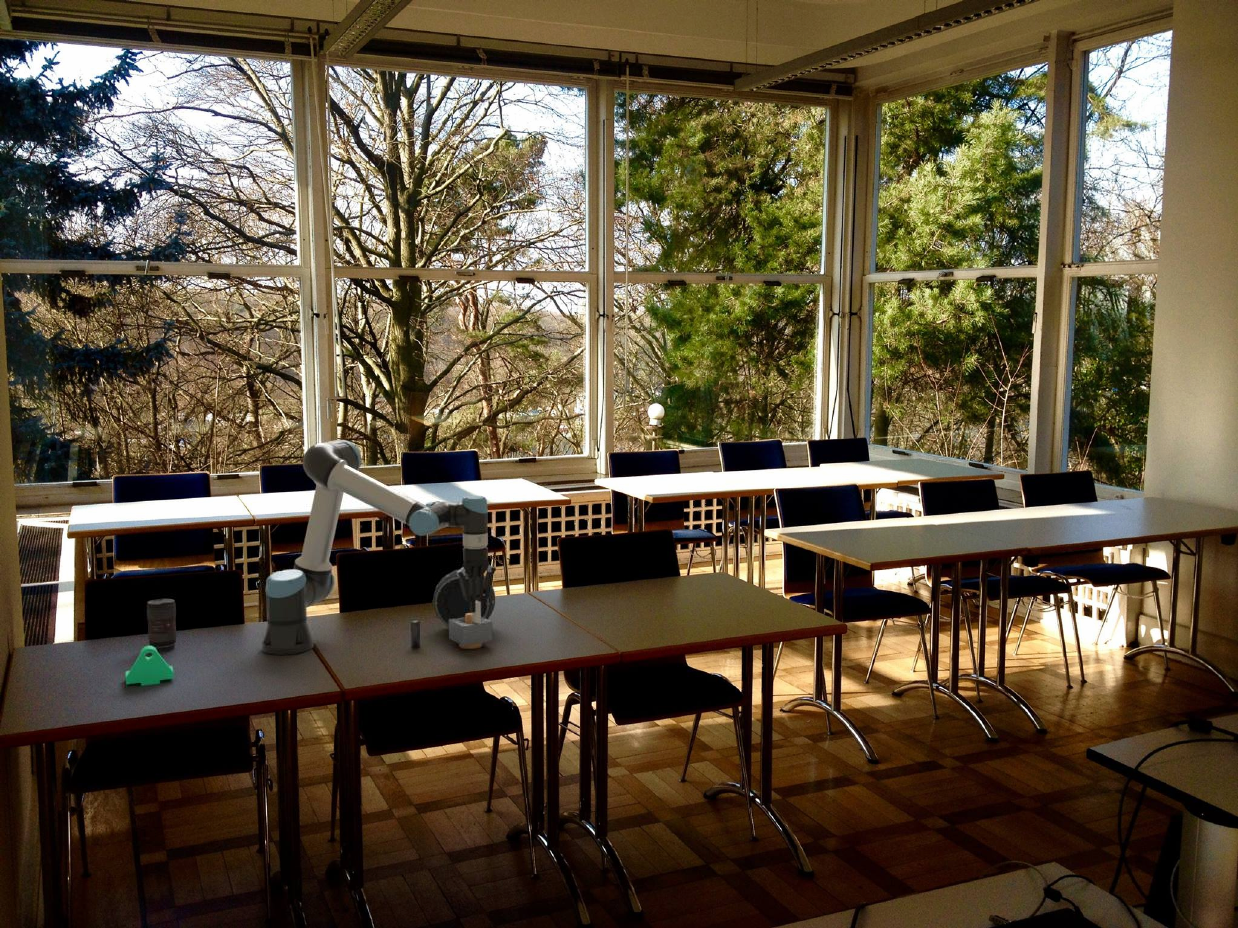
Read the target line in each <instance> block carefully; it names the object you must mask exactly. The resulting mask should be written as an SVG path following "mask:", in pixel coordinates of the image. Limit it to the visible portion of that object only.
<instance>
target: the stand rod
mask: <svg viewBox="0 0 1238 928" xmlns="http://www.w3.org/2000/svg"><path fill="white" fill-rule="evenodd" d="M420 623H421V621H420V620H418V619H417V620H411V621H410V647H411V648H413V649H418V648H420V647H421V624H420Z"/></svg>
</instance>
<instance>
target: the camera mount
mask: <svg viewBox="0 0 1238 928" xmlns="http://www.w3.org/2000/svg"><path fill="white" fill-rule="evenodd" d="M139 652H140V654H139V655H138V657H137V658H136V660H135V662H134V663H133V665H132V667H131V668H130V670H127V671H125V683H126V685H130V684H131V685H132V684H138V683H139V684H140V686H142V687H143V686H149V685H150V686H151V685H157V684H161V681H164V680H171V679H175V675H174V669H173V666H172V665H169V664H168V663H167V662H166V660H165V659H164V658H163V657H162V655H161V654H160V652H157V650H156V648H155V647H153V646H150V645H146V646H144V647H142V648H141V650H140V651H139ZM147 654H152V655H151V656H149V657H148V656H146V655H147Z"/></svg>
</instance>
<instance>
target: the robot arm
mask: <svg viewBox="0 0 1238 928" xmlns="http://www.w3.org/2000/svg"><path fill="white" fill-rule="evenodd" d="M303 455H304V456H303V459H302V466H303V470H304V472H305V473H306V475H307V477H309V478H310V479H311V480H312V481H313V482H314V484H315V485H316V486H315V491H314V495H313V500H312V505H311V510H310V513H309V518H308V524H307V528H306V533H305V537H304V542H303V546H302V552H301V555H300V556H299V557H298V558H296V559H295V560H294V565H293V569H283V570H282V571H280V570H279V571H276V572H273V573H272V574H270V575H269V576H268V577H267V578H266V580H265V581H266V582H265V583H266V585H265V596H266V599H265V600H266V622H267V623H266V624H267V625H266V629H265V632H264V635H263V638H262V642H261V649H262V652H263V653H265V654H270V655H277V656H285V655H295V654H296V655H297V654H301V653H305V652H307V651H309V650H312V649H313V648H314V638H313V635H312V633H311V629H310V626H309V624H308V618H307V617H308V616H307V614H308V612H307V608H308V607H310V606H313V605H315V604H318V603H321V602H323V601H324V600H326V598H328V597H329V596H330V595H331V593H332V592H333V589H334V588H335V575H334V574H333V571H332V570H333V565H332V563H331V562H330V557H331V552H332V548H333V542H334V539H335V535H336V530H337V525H338V520H339V515H340V511H341V507H342V502H343V497H344V494H346V495H348V496H350V497H352V498H355V499H356V500H358V501H359V502H362V503H364V504H366V505H367V506H370V507H372V508H374V509H376V510H377V511H379V512H381V513H384V514H386V515H388V516H390V517H392V518H393V519H394V520H395V519H396V520H397V521H399V522H401V523H403V524H405V525H407V526H409V528H410V530H411V531H412V532H413V534H415V535H417V536H420V537H422V536H423V537H424V536H429V535H431V534H434V533H435V532H437V531H439V530H442V529H444V528H446V527H449V528H450V527H451V528H452V527H453V528H455V527H456V528H462V547H463V548H462V556H463V557H462V558H463V563H462V567H461V568H459V569H460V570H459V569H458V570H459V571H456V572H455V573H456V575H457V576H458V578H459V581H460V585H461V589H462V594H463V598H464V600H467V601H469V602H470V612H472V622H475V623H481V611H483V602H484V601H485V600H484V599H486V598H489V593H490V588H491V584H492V583H493V578H494V574H495V572H496V571H497V568H496V567H494V566H493V565H490V562H489V559H488V558H489V547H487V546H488V545H489V543H488V542H489V540H488V537H489V535H488V534H489V533H488V531H489V530H488V523H489V521H488V513H489V510H488V499H487V498H486V497H485V496H482V495H467V496H464V497H463V498H462V499H461V502H460V501H459V502H454V501H451V502H450V501H440V500H436V501H428V502H426V503H425V504H424V503H422V502H419V501H418V500H416V499H414V498H412V497H410V496H408V495H406V494H404V493H403V492H401V491H398V490H396V489H394V488H393V487H391V486H388V485H387V484H384V483H383V482H382V481H379V480H376V479H375V478H372V477H371V476H368V475H367V474H365V473H363V472H361V471H359V470H360V467H361V465H362V455H361V453H360V450H359V449H358V447H357V446H356V445H355V444H354V443H353V442H351V441H349V440H345V439H333V440H330V441H325V442H318V443H315V444H314V445H311V446H310V447H309V448H308V449H307V450H306V452H305V453H304V454H303ZM465 572H466V573H467V575H468V579H469V590H468V586H467V581H466V578H465ZM484 576H485V581H484V586H483V579H484ZM476 594H477V600H476Z"/></svg>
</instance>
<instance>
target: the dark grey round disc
mask: <svg viewBox="0 0 1238 928" xmlns="http://www.w3.org/2000/svg"><path fill="white" fill-rule="evenodd" d="M460 569H461V568H459V569H455V570H453V571H452V572H450V573H448V574H446V575H445V576H444V577H442V578H441V579H440V581H439V582H438V583H437V585H436V587H435V591H434V593H433V599H432V604H433V607H434V612H435V613H436V617H437V618H438V619H439V620H440V621H441V622H442V623H443V624H444V625H445V626H446V627H447V628H448V629H449V619H455V618H461V617H465V614H467V613H472V612H470V602H469V601H467V600H464V598H463V594H462V589H461V585H460V581H459V578H458V576H457V575H456V573H455V572H456V571H459V570H460ZM485 576H486V575H484V579H483V586H484V581H485ZM465 578H466V581H467V586H468V590H469V579H468V575H467V573H466V572H465ZM476 600H477V594H476ZM484 600H485V601H484V602H483V611H481V617H483V618H485V619H487V620H490V617H491V616H492V614H493V612H494V610H495V606H496V592H495V589H494V586H493V585H492V583H491V588H490V593H489V598H486V599H484Z"/></svg>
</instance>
